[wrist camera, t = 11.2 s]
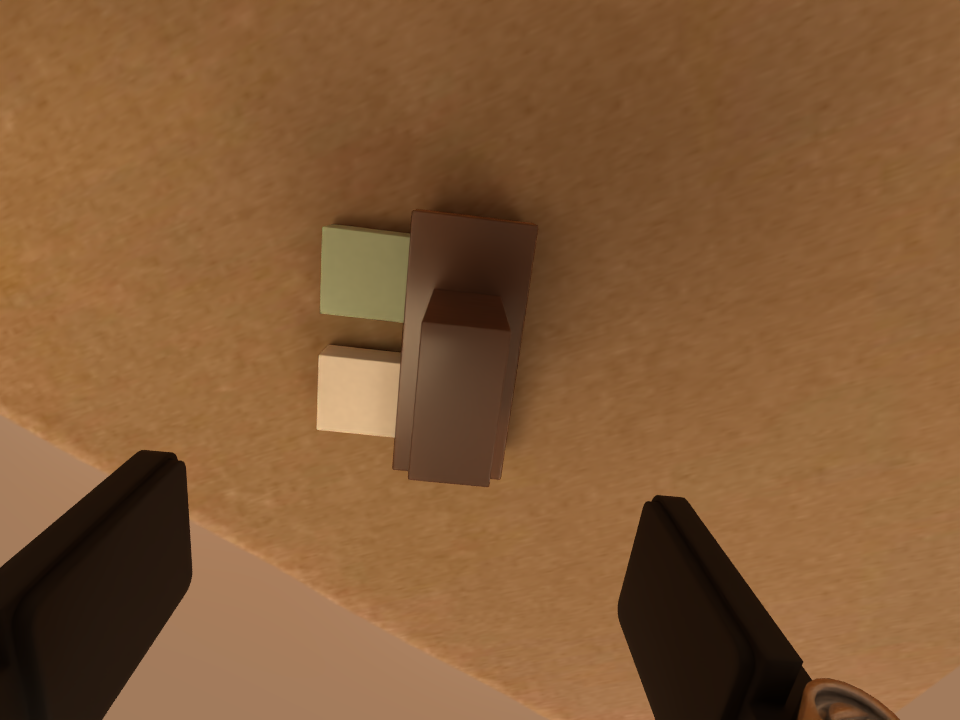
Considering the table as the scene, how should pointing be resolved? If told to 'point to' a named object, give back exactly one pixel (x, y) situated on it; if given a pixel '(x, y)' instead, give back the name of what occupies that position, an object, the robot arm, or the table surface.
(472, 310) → the brown inverted t block
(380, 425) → the chip
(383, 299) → the chip
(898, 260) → the table surface
